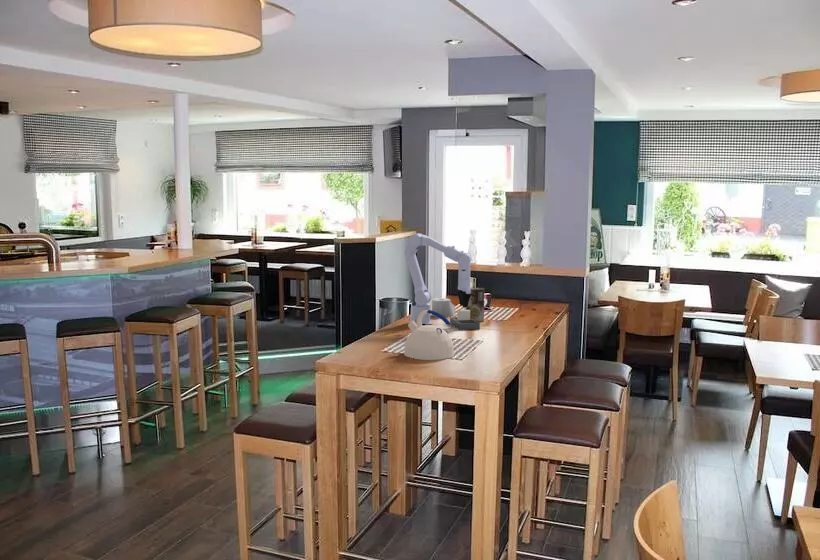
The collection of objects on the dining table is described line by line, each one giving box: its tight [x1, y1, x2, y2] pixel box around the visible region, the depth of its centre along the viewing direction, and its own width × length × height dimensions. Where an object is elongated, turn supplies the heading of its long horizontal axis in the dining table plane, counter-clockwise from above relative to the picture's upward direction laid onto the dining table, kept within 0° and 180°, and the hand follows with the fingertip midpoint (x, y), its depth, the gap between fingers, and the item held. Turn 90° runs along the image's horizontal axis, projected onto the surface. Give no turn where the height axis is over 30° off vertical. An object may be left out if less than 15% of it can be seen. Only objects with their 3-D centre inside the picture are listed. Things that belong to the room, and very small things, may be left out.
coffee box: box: [465, 287, 485, 322], centre depth 359 cm, size 9×6×16 cm
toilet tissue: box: [431, 297, 456, 318], centre depth 372 cm, size 9×13×9 cm
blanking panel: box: [456, 309, 470, 320], centre depth 345 cm, size 6×2×7 cm, turn 102°
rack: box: [449, 316, 481, 331], centre depth 344 cm, size 10×16×3 cm, turn 13°
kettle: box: [403, 309, 455, 361], centre depth 285 cm, size 20×21×18 cm
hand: (463, 306), depth 344 cm, fingers open, 4 cm apart
